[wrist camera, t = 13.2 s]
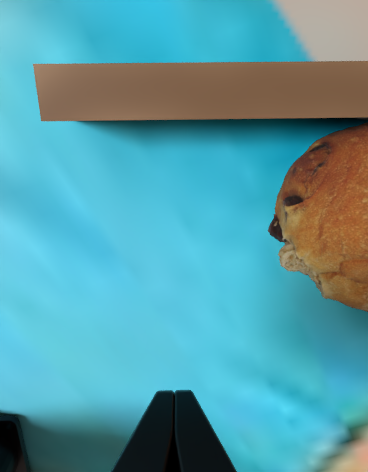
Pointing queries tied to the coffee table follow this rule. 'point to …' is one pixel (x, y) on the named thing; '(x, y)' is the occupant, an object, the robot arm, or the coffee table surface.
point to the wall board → (202, 90)
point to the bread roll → (328, 216)
